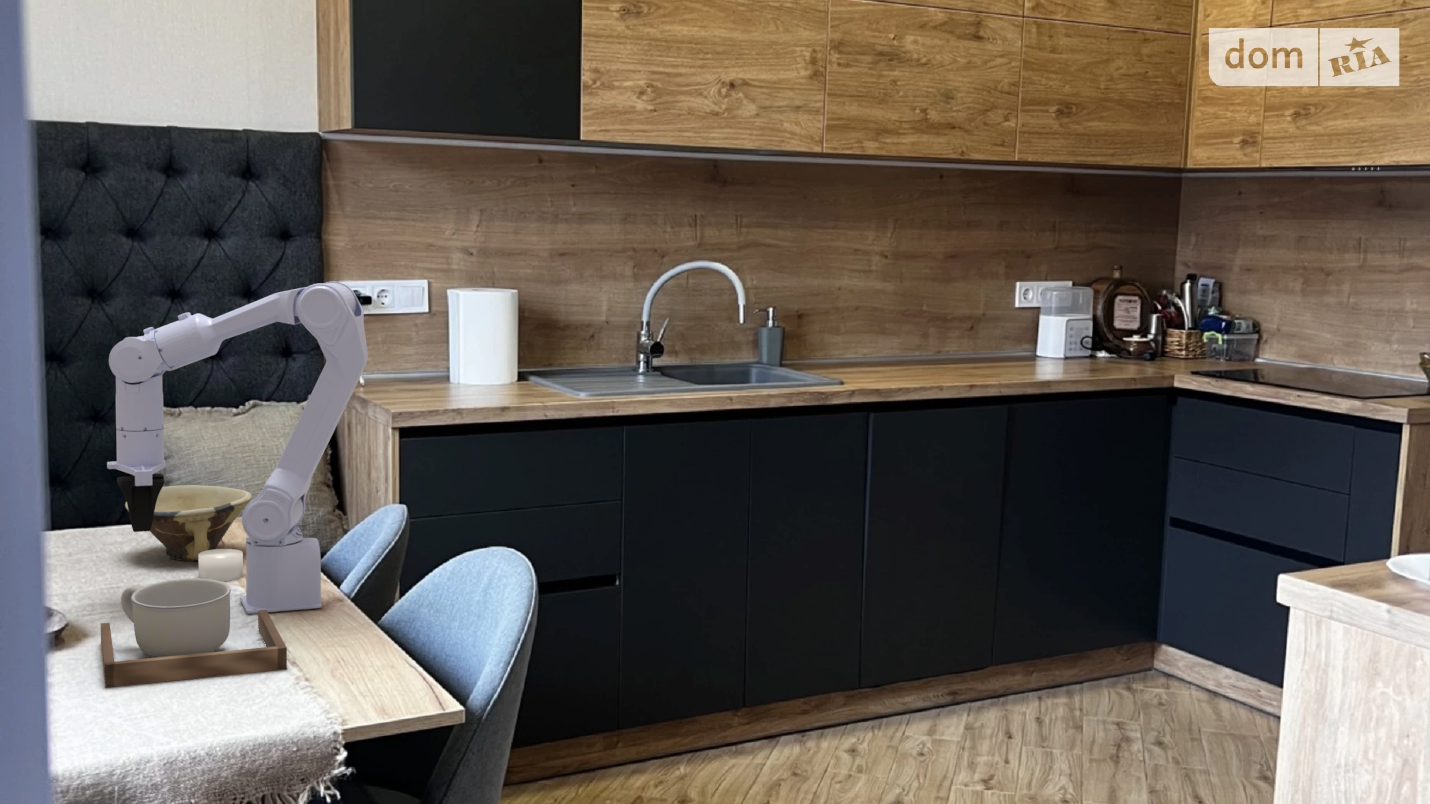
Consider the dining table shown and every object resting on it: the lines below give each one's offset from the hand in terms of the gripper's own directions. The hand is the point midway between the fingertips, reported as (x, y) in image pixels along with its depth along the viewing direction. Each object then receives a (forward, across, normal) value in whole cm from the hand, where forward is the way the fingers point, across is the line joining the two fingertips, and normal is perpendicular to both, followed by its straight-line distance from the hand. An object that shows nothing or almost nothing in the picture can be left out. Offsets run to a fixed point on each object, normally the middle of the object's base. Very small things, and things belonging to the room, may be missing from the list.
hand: (141, 530), depth 179 cm
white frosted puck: (+10, -12, +11) cm, 19 cm away
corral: (+10, +26, +4) cm, 28 cm away
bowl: (+10, -26, +8) cm, 29 cm away
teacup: (+10, +24, +2) cm, 26 cm away
